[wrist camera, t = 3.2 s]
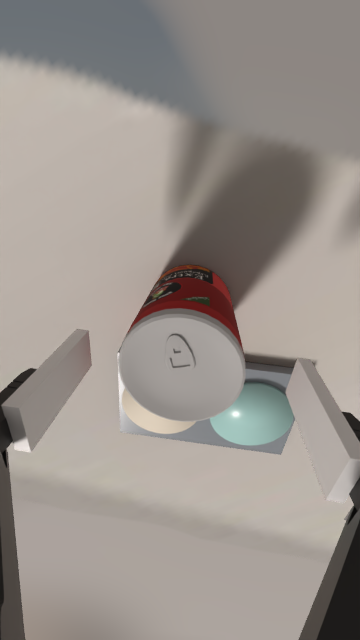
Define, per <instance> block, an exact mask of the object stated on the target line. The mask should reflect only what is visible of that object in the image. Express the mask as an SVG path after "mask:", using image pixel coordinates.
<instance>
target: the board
mask: <svg viewBox="0 0 360 640" xmlns="http://www.w3.org/2000/svg"><path fill="white" fill-rule="evenodd" d="M120 349H121V348H120ZM119 354H120V350H119V351H118V359H119ZM293 369H294V368H290V367H282V366H274V365H265V364H257V363H249V362H245V382H260V383H265V384H268V385H271V386H274V387H276V388H277V389H279V390H280V391H282V392H283V393H284V394H285V395H286V393H285V392H286V389H287V386H288V383H289V381H290V378H291V375H292V372H293ZM118 378H119V411H120V432H123V433H130V434H137V435H144V436H151V437H158V438H166V439H173V440H180V441H187V442H194V443H201V444H209V445H216V446H223V447H230V448H237V449H244V450H251V451H259V452H266V453H273V454H280V455H281V453H282V451H283V448H284V446H285V443H286V441H287V438H288V436H289V433H290V431H291V428H292V426H293V423H294V421H295V417H294V416H293V422H292V424H291V426H290V428H289V429H288V431H287V432H286V433H285V434H284V435H282V436H281V437H279V438H278V439H276V440H274V441H272V442H269V443H266V444H261V445H240V444H236V443H233V442H230V441H228V440H226V439H224V438H223V437H221V436H220V435H219V434H218V433H217V432H216V431H215V430H214V428H213V427H212V425H211V422H210V418H209V419H206V420H201V421H195V422H180V421H173V420H169V419H165V418H162V417H159V416H157V415H155V414H153V413H151V412H149V411H147V410H146V409H144V408H143V407H141V406H140V405H139V404H138V403H137V402H136V401H135V400H134V399H133V398H132V397H131V396H130V394H129V393H128V392H127V390H126V389H125V387H124V385H123V383H122V381H121V377H120V373H119V365H118Z"/></svg>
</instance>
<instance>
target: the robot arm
mask: <svg viewBox="0 0 360 640" xmlns="http://www.w3.org/2000/svg"><path fill="white" fill-rule="evenodd" d="M91 366H92V364H91V353H90V341H89V331H88V330H81V329H76V331H75V332H74V333H73V334H72V335H71V336H70V337H69V338H68V339H67V340H66V341H65V342H64V343H63V344H62V345H61V346H60V347H59V348H58V349H57V350H56V351H55V352H54V353H53V354H52V355H51V356H50V357H49V358H48V359H47V360H46V361H45V362H44V363H43V364H42V365H41V366H40V367H39V368H38V369H33V368H30V369H28V370H26V371H24V372H23V373H21V374H20V375H19V376H17V377H16V378H15V379H14V380H13V382H11V383H10V384H9V385H8V386H7V388H5V389H4V390H3V391H2V392H1V393H0V640H25V634H24V624H23V613H22V603H21V592H20V581H19V570H18V560H17V548H16V538H15V527H14V516H13V505H12V494H11V483H10V472H9V462H8V452H7V447H8V446H9V445H10V444H11V442H13V445H14V448H15V450H19V451H25V452H32V450H33V449H34V447H35V446H36V445H37V443H38V442H39V440H40V439H41V437H42V436H43V434H44V433H45V432H46V430H47V429H48V427H49V426H50V424H51V423H52V422H53V420H54V419H55V417H56V416H57V414H58V413H59V412H60V410H61V409H62V407H63V406H64V404H65V403H66V401H67V400H68V399H69V397H70V396H71V394H72V393H73V391H74V390H75V389H76V387H77V386H78V384H79V383H80V381H81V380H82V379H83V377H84V376H85V374H86V373H87V371H88V370H89V368H90V367H91ZM285 393H286V396H287V398H288V401H289V404H290V406H291V409H292V412H293V414H294V417H295V420H296V422H297V425H298V428H299V431H300V433H301V436H302V439H303V441H304V444H305V447H306V449H307V452H308V455H309V457H310V460H311V463H312V465H313V468H314V471H315V473H316V476H317V479H318V482H319V484H320V487H321V490H322V492H323V495H324V498H325V500H327V501H333V502H339V503H344V502H345V501H346V499H347V498H348V496H349V495H350V497H351V499H352V501H353V503H354V506H353V507H352V509H351V510H350V512H349V513H348V515H347V516H346V517H345V520H346V523H345V526H344V528H343V531H342V533H341V536H340V538H339V541H338V543H337V546H336V548H335V551H334V553H333V556H332V558H331V561H330V563H329V566H328V568H327V571H326V573H325V575H324V578H323V580H322V583H321V586H320V588H319V590H318V593H317V596H316V598H315V601H314V603H313V605H312V608H311V610H310V613H309V615H308V618H307V620H306V623H305V625H304V628H303V630H302V633H301V635H300V638H299V640H360V421H359V420H358V419H356V418H355V417H354V416H353V415H352V414H351V413H347V412H341V410H340V408H339V407H338V405H337V403H336V402H335V400H334V398H333V397H332V395H331V393H330V392H329V390H328V388H327V387H326V385H325V383H324V382H323V380H322V378H321V377H320V375H319V373H318V372H317V370H316V368H315V366H314V365H313V363H312V361H311V360H310V359H302V358H297V361H296V364H295V366H294V369H293V372H292V375H291V378H290V381H289V383H288V386H287V389H286V392H285Z"/></svg>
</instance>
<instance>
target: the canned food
mask: <svg viewBox="0 0 360 640" xmlns="http://www.w3.org/2000/svg"><path fill="white" fill-rule="evenodd" d="M118 365H119V373H120V377H121V381H122V383H123V385H124V387H125V389H126V390H127V392H128V393H129V394H130V396H131V397H132V398H133V399H134V400H135V401H136V402H137V403H138V404H139V405H140V406H141V407H143V408H144V409H146V410H147V411H149V412H151V413H153V414H155V415H157V416H159V417H162V418H165V419H169V420H173V421H180V422H195V421H201V420H206V419H209V418H212V417H215V416H217V415H218V414H220V413H222V412H224V411H225V410H226V409H228V408H229V407H230V406H231V405H232V404H233V403H234V402H235V401H236V399H237V398H238V397H239V395H240V393H241V391H242V389H243V386H244V382H245V358H244V353H243V348H242V343H241V339H240V335H239V331H238V327H237V323H236V319H235V314H234V310H233V306H232V302H231V298H230V294H229V291H228V289H227V287H226V285H225V284H224V282H223V281H222V280H221V278H220V277H218V276H217V275H216V274H215V273H214V272H212V271H210V270H208V269H206V268H203V267H200V266H195V265H183V266H179V267H175V268H173V269H171V270H169V271H167V272H166V273H165V274H163V275H162V276H161V277H160V278H159V280H158V281H157V282H156V284H155V285H154V287H153V289H152V290H151V292H150V294H149V296H148V297H147V299H146V301H145V303H144V304H143V306H142V308H141V309H140V311H139V313H138V315H137V316H136V318H135V320H134V321H133V323H132V325H131V327H130V329H129V331H128V333H127V334H126V337H125V339H124V341H123V343H122V347H121V349H120V354H119V359H118Z"/></svg>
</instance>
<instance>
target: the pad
mask: <svg viewBox="0 0 360 640" xmlns="http://www.w3.org/2000/svg"><path fill="white" fill-rule="evenodd" d="M293 416H294V414H293V412H292V409H291V406H290V404H289V401H288V398H287V396H286V395H285V394H284V393H283V392H282V391H280V390H279V389H277V388H276V387H274V386H271V385H268V384H265V383H260V382H244V386H243V389H242V391H241V393H240V395H239V397H238V398H237V399H236V401H235V402H234V403H233V404H232V405H231V406H230V407H229V408H228V409H226V410H225V411H224V412H222V413H220V414H218V415H217V416H215V417H212V418H210V422H211V425H212V427H213V428H214V430H215V431H216V432H217V433H218V434H219V435H220V436H221V437H223V438H224V439H226V440H228V441H230V442H233V443H236V444H240V445H261V444H266V443H269V442H272V441H274V440H276V439H278V438H279V437H281V436H282V435H284V434H285V433H286V432H287V431H288V429H289V428H290V426H291V424H292V422H293Z"/></svg>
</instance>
